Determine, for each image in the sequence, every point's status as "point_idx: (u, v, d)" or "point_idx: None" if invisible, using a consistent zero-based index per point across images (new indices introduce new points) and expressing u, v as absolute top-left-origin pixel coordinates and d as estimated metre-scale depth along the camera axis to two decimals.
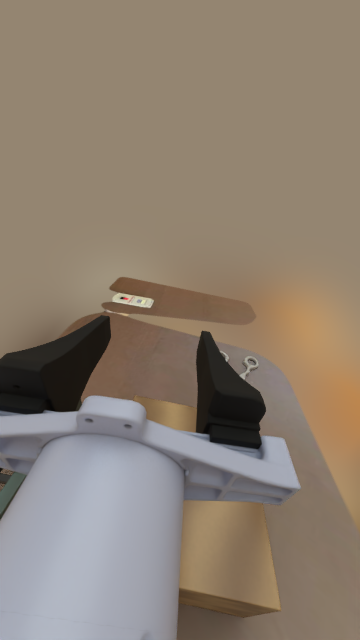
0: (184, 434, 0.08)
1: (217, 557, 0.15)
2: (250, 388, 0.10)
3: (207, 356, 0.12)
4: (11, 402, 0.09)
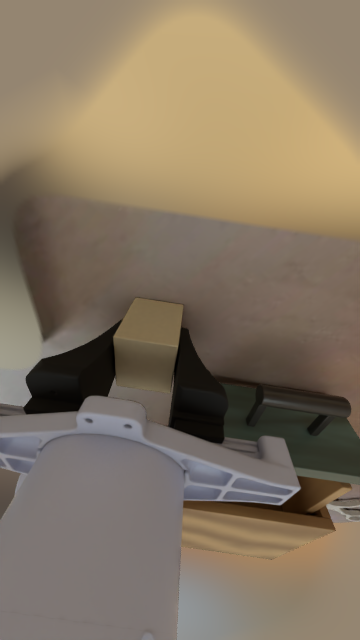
0: (184, 434, 0.08)
1: None
2: (215, 383, 0.10)
3: (179, 352, 0.12)
4: (47, 407, 0.09)
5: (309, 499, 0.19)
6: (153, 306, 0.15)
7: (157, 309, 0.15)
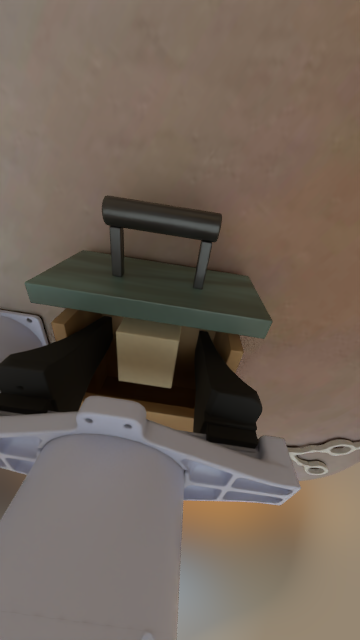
0: (184, 434, 0.08)
1: None
2: (247, 387, 0.10)
3: (204, 356, 0.12)
4: (15, 403, 0.09)
5: None
6: None
7: None
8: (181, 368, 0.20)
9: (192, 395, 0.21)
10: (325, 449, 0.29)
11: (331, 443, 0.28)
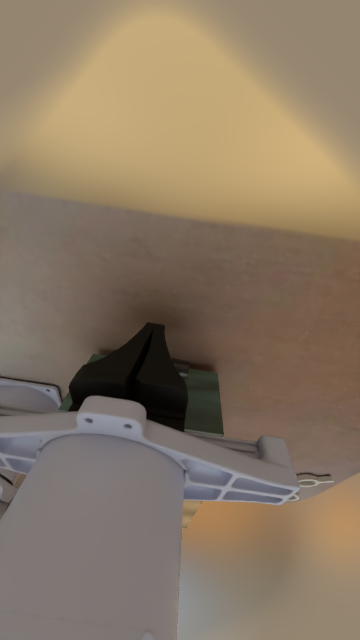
0: (184, 434, 0.08)
1: None
2: (176, 377, 0.10)
3: (150, 347, 0.12)
4: None
5: None
6: None
7: None
8: None
9: None
10: None
11: (298, 478, 0.33)
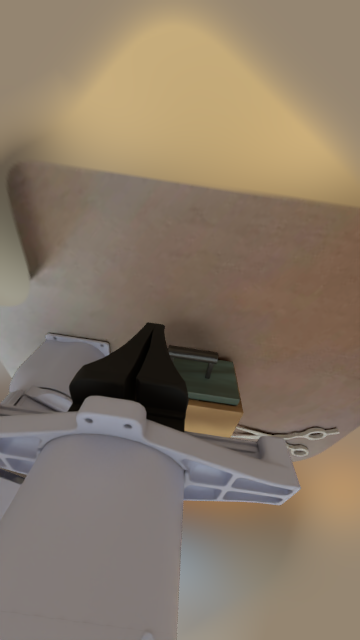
0: (184, 434, 0.08)
1: None
2: (176, 377, 0.10)
3: (150, 347, 0.12)
4: None
5: None
6: None
7: None
8: None
9: None
10: (305, 435, 0.39)
11: (309, 431, 0.38)
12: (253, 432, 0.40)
